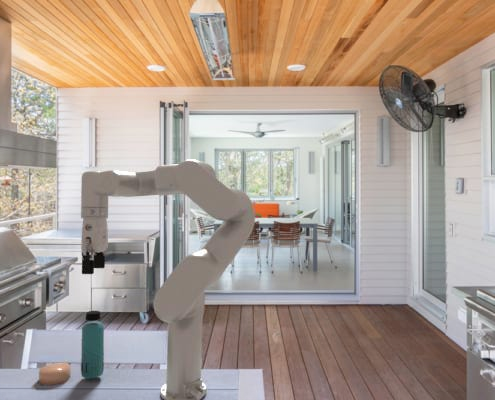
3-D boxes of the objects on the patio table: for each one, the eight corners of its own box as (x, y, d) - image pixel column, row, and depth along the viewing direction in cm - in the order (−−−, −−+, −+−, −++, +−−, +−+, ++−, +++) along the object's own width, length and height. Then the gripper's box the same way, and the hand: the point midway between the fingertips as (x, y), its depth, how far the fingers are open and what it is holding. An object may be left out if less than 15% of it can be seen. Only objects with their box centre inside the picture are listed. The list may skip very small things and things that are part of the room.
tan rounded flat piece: (74, 379, 118) (74, 369, 118) (43, 388, 113) (43, 377, 113) (65, 370, 124) (65, 360, 124) (35, 377, 119) (35, 367, 119)
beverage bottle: (107, 374, 122) (108, 309, 122) (97, 384, 115) (98, 315, 115) (87, 373, 123) (88, 308, 123) (75, 383, 116) (77, 314, 116)
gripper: (97, 214, 110) (96, 276, 110) (115, 212, 128) (115, 266, 128) (70, 214, 110) (69, 276, 110) (92, 212, 127) (91, 266, 127)
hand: (93, 270), depth 119 cm, fingers open, 9 cm apart
